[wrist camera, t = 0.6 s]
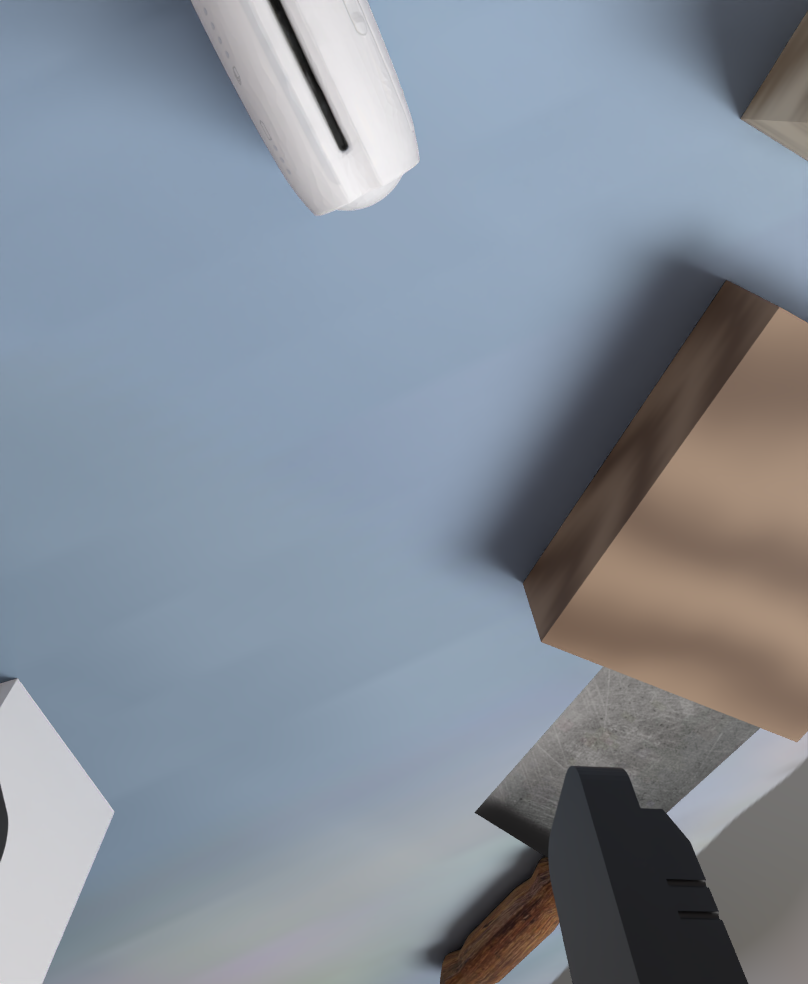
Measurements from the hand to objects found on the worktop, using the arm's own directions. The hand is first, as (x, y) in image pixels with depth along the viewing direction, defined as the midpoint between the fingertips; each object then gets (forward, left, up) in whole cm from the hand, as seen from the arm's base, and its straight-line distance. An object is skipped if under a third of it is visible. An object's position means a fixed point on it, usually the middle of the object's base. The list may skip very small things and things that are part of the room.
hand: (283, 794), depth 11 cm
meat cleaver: (+24, +25, -27) cm, 44 cm away
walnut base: (0, +23, -26) cm, 35 cm away
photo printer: (-9, -5, -27) cm, 29 cm away
